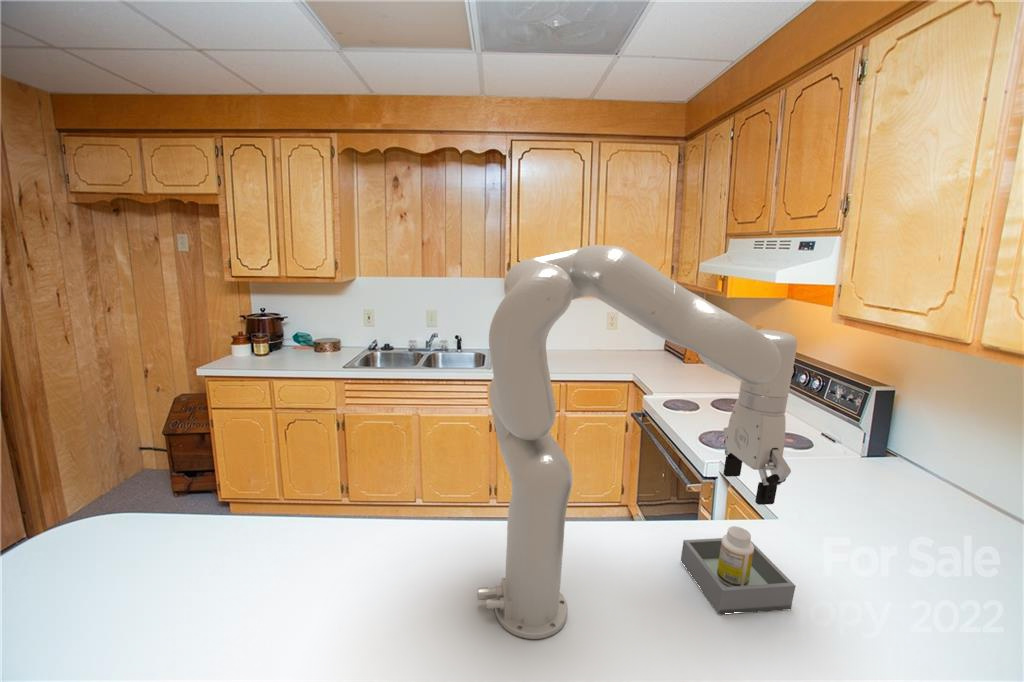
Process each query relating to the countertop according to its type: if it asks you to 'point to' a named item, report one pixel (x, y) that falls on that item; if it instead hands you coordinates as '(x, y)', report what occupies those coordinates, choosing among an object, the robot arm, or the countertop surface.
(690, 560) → the tray
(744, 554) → the supplement bottle
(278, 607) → the countertop surface
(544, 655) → the countertop surface
